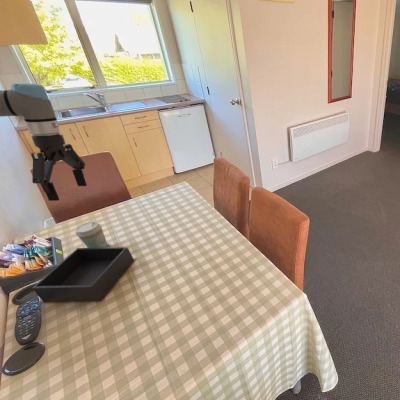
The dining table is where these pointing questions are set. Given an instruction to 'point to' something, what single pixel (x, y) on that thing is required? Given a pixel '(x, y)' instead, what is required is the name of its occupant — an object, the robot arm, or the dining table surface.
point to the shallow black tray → (84, 275)
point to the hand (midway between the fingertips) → (69, 192)
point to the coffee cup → (92, 235)
